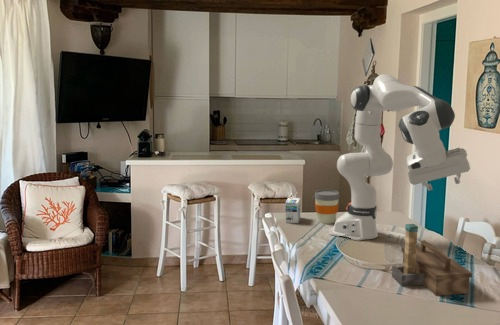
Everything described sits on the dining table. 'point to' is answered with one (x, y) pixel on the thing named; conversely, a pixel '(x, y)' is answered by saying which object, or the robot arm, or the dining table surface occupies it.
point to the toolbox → (434, 272)
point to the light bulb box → (292, 210)
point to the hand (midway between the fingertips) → (444, 186)
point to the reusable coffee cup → (326, 205)
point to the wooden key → (410, 248)
